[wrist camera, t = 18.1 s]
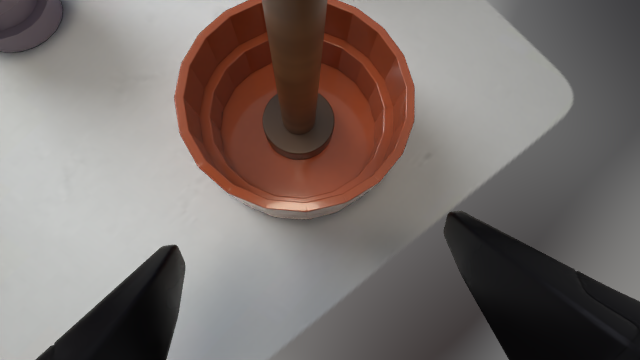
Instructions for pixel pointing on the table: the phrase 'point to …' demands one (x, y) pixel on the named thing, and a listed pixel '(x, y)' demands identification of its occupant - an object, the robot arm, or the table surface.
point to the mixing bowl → (259, 87)
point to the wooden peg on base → (297, 79)
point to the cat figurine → (27, 23)
